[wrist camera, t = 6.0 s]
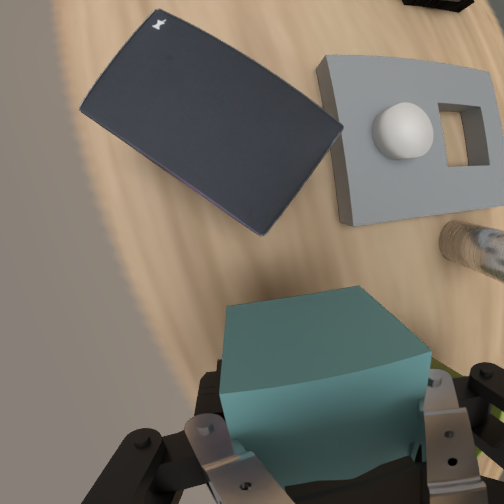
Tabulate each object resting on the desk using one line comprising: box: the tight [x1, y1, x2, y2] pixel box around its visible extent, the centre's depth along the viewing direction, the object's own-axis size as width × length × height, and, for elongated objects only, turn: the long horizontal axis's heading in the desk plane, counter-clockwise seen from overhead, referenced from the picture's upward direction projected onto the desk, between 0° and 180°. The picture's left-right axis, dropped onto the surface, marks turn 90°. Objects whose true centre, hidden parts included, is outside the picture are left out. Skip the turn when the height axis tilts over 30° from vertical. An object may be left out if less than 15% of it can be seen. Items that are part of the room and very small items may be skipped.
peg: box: [439, 220, 504, 283], centre depth 20 cm, size 4×4×10 cm
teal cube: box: [219, 286, 432, 491], centre depth 11 cm, size 6×6×6 cm
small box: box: [79, 9, 344, 236], centre depth 17 cm, size 11×6×10 cm, turn 54°
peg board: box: [316, 55, 504, 227], centre depth 20 cm, size 12×16×5 cm
